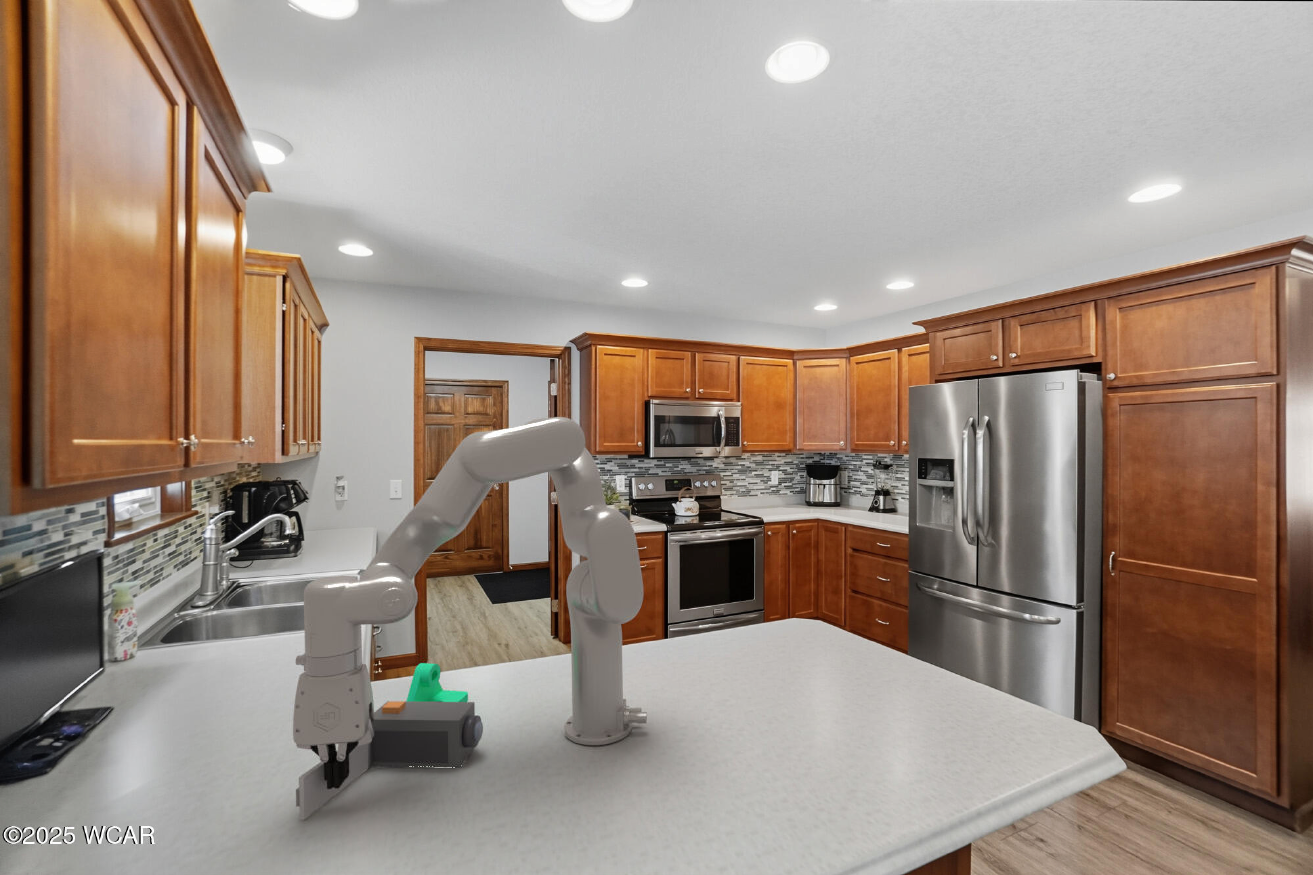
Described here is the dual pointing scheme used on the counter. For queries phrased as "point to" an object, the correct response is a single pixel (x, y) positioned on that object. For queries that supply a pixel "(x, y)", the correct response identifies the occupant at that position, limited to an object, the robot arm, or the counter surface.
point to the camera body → (424, 734)
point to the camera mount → (431, 686)
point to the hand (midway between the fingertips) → (337, 783)
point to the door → (315, 787)
